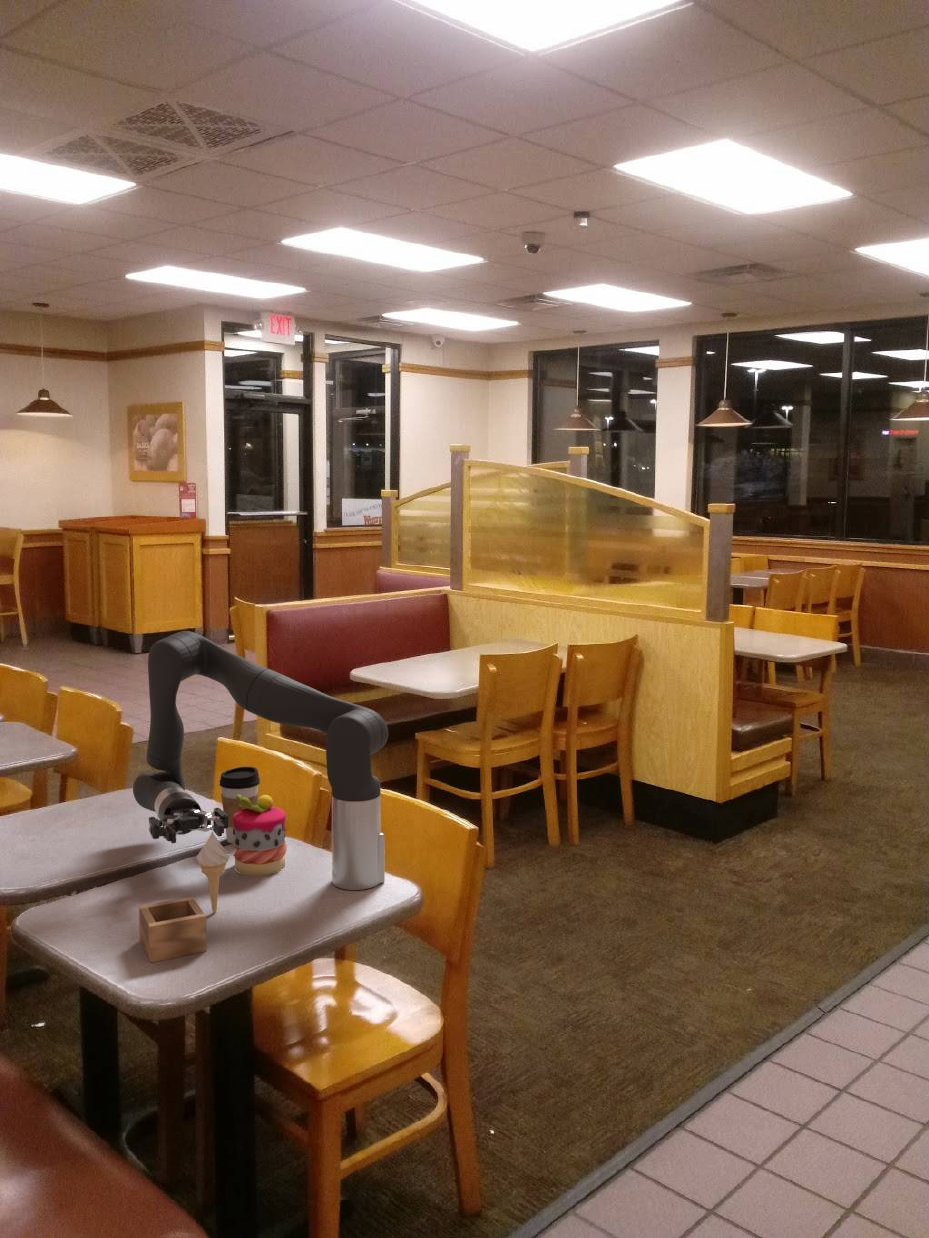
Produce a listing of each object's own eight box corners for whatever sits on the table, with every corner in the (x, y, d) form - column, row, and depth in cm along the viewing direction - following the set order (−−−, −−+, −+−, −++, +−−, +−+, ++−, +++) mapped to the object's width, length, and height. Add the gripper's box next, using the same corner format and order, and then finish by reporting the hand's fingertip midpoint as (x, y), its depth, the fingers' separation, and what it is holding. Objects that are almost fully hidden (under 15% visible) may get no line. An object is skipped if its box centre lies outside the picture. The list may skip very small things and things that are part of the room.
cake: (261, 853, 214) (260, 782, 212) (298, 864, 208) (297, 792, 206) (222, 868, 206) (220, 794, 204) (259, 880, 200) (257, 805, 198)
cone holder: (193, 930, 178) (192, 896, 177) (206, 951, 170) (205, 916, 169) (139, 940, 173) (138, 906, 173) (150, 962, 166) (149, 926, 165)
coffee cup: (268, 839, 223) (267, 771, 221) (235, 849, 216) (234, 779, 214) (245, 830, 228) (244, 763, 226) (212, 839, 222) (211, 771, 220)
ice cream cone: (222, 920, 182) (220, 837, 180) (192, 917, 183) (190, 835, 181) (235, 907, 187) (233, 827, 185) (206, 905, 188) (204, 825, 186)
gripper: (139, 796, 203) (157, 820, 189) (212, 786, 210) (235, 809, 196) (141, 833, 204) (159, 860, 190) (213, 822, 211) (235, 848, 197)
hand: (197, 834), depth 193 cm, fingers open, 8 cm apart
